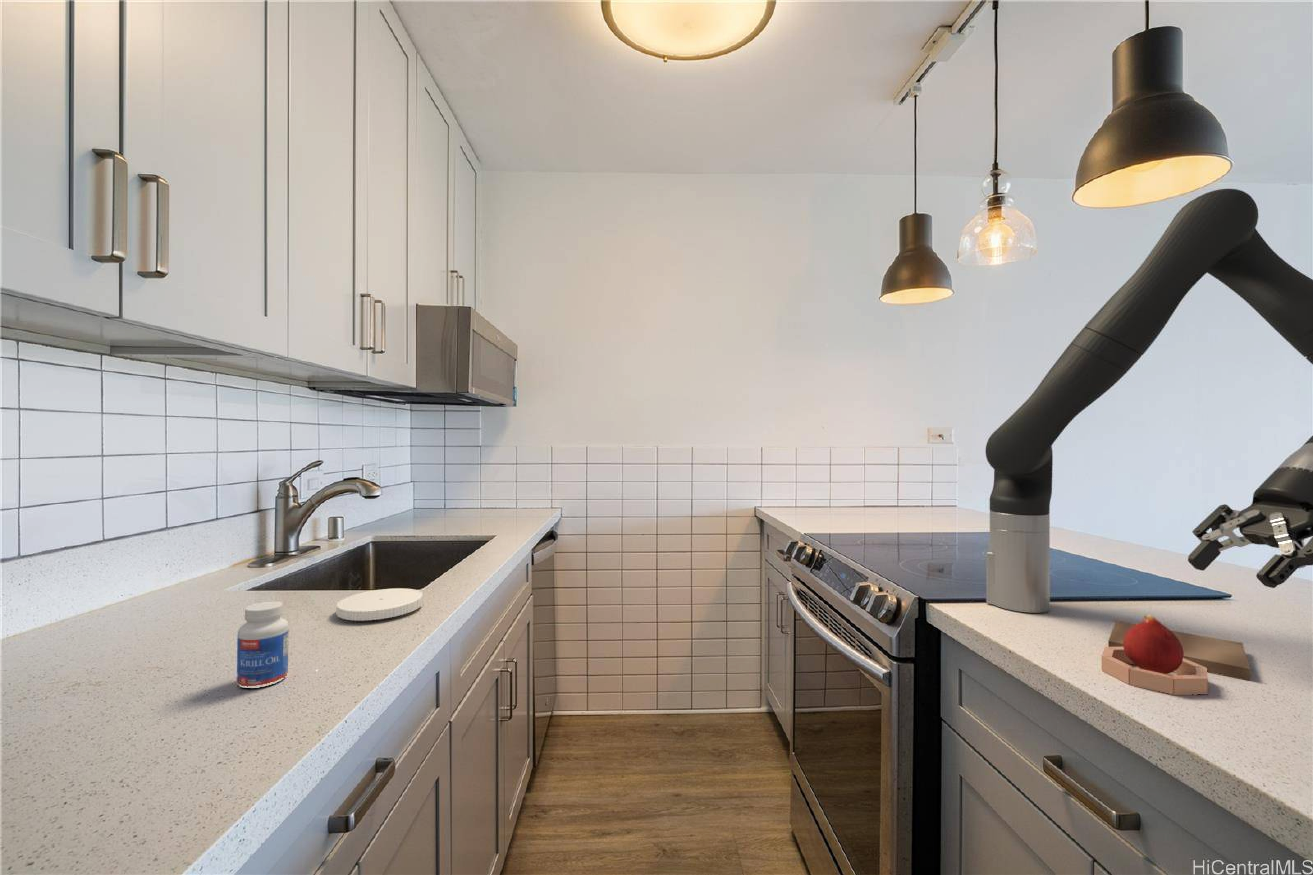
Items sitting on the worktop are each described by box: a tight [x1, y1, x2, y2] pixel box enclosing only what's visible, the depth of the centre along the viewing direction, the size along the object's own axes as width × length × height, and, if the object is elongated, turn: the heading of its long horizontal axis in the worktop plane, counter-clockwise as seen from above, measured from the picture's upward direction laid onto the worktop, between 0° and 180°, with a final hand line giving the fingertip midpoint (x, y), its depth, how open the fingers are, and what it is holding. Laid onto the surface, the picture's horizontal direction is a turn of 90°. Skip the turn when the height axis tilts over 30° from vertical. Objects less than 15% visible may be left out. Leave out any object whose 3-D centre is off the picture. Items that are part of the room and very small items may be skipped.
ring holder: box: [1101, 646, 1209, 696], centre depth 71 cm, size 10×10×2 cm
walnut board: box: [1107, 620, 1251, 681], centre depth 79 cm, size 14×12×2 cm
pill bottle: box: [236, 601, 290, 687], centre depth 71 cm, size 6×5×10 cm
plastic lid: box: [335, 587, 424, 622], centre depth 99 cm, size 14×14×2 cm
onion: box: [1123, 614, 1184, 675], centre depth 71 cm, size 6×6×8 cm
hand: (1227, 573), depth 72 cm, fingers open, 8 cm apart
